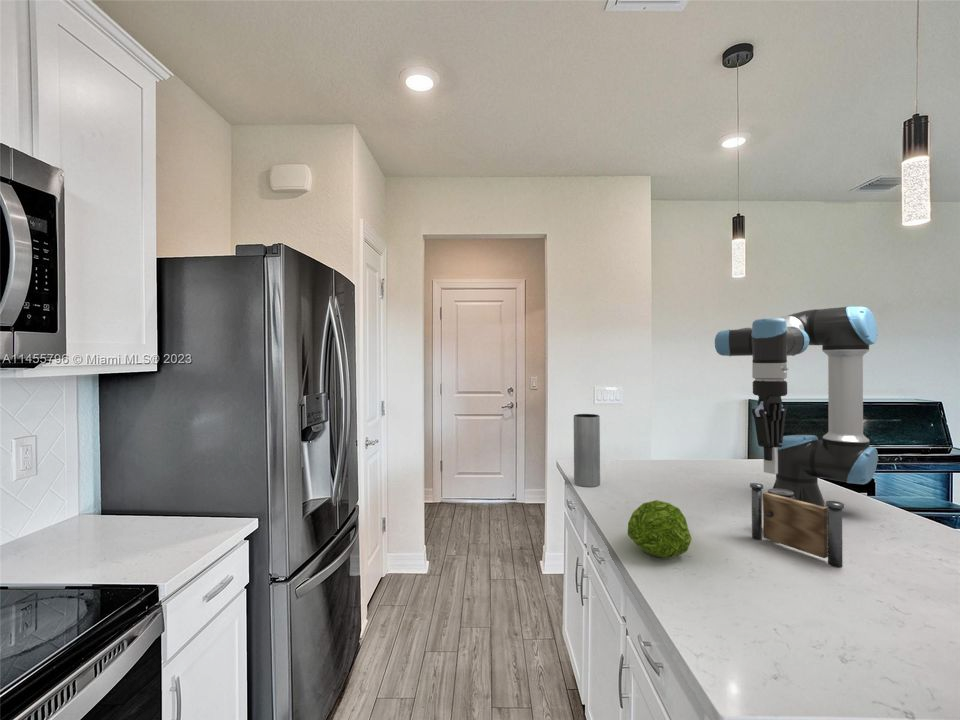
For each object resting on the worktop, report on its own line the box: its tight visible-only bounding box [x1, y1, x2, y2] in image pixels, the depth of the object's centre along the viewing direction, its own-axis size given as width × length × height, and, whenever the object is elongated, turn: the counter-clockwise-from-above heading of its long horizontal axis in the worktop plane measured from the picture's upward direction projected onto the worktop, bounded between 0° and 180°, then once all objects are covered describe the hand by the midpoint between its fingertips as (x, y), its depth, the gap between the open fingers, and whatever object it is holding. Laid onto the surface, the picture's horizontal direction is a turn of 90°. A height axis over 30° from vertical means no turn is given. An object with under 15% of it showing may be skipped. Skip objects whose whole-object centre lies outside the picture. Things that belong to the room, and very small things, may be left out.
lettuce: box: [627, 499, 692, 559], centre depth 127 cm, size 15×24×14 cm, turn 156°
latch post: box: [749, 482, 764, 541], centre depth 132 cm, size 3×3×15 cm
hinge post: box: [825, 500, 845, 568], centre depth 115 cm, size 4×4×15 cm
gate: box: [762, 492, 828, 559], centre depth 123 cm, size 15×3×12 cm, turn 27°
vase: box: [573, 413, 601, 488], centre depth 190 cm, size 10×10×27 cm
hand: (770, 472), depth 122 cm, fingers closed
